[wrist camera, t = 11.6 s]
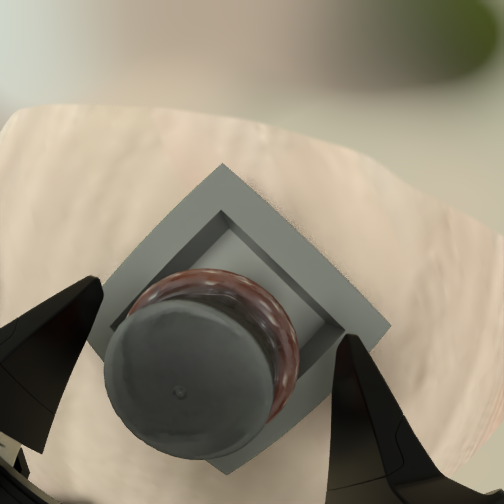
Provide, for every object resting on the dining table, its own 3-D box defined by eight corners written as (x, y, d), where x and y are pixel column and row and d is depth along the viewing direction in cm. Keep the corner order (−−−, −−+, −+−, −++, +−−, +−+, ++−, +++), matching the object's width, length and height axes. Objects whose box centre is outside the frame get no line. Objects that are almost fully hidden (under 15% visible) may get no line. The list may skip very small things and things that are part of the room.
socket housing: (360, 318, 17) (393, 326, 12) (233, 439, 16) (226, 477, 11) (230, 193, 18) (222, 161, 13) (110, 317, 17) (71, 322, 12)
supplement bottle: (297, 347, 16) (363, 436, 5) (212, 388, 16) (153, 507, 4) (251, 262, 17) (238, 204, 6) (167, 306, 16) (39, 321, 5)
